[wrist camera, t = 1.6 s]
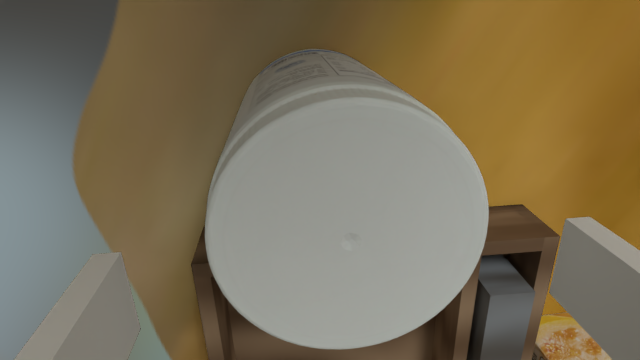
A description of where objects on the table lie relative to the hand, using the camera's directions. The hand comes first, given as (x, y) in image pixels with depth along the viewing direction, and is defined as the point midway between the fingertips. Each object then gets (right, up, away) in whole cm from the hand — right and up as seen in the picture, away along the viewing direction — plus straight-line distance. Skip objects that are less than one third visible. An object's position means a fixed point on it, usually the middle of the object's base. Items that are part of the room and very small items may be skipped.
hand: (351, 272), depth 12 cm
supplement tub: (-1, +7, +14) cm, 16 cm away
